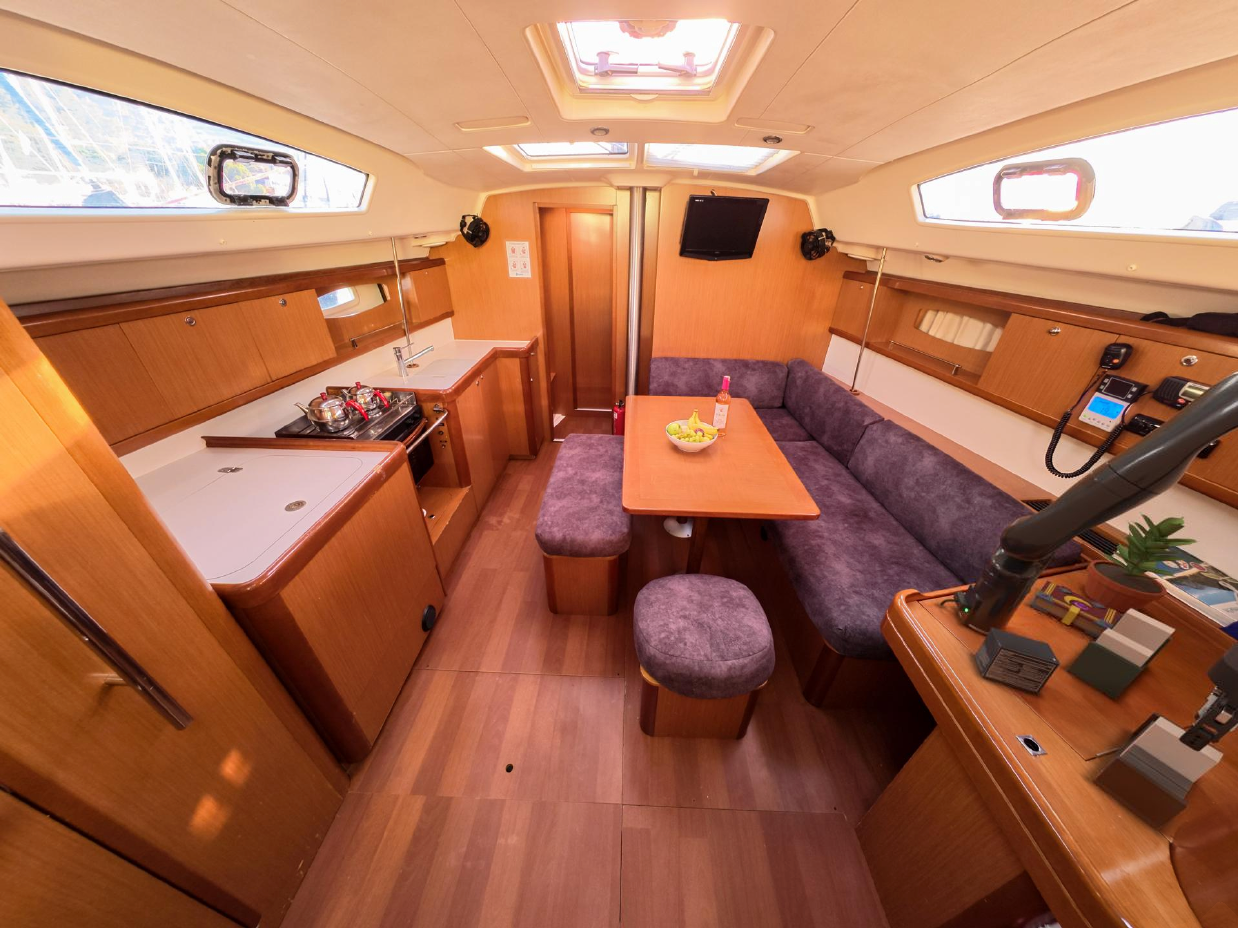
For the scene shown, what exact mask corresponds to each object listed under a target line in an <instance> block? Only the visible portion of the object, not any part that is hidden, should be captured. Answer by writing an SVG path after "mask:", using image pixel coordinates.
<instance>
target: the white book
mask: <svg viewBox="0 0 1238 928" xmlns="http://www.w3.org/2000/svg"><path fill="white" fill-rule="evenodd" d="M1185 732H1186V731H1184V730H1182V729H1181V728H1179V727H1177V726H1176V725H1174V724H1172V723H1171V722H1169V721H1167V720H1166V719H1164V718H1162V717H1160V718H1159V719H1158V720H1156V721H1155V722H1154V723H1153V724H1152V725H1151V726H1150V727H1149V728H1148V729H1147V730H1146V731H1145V732H1144V733H1143V734H1142V735H1141V736H1140V737H1139V738H1138V739H1136V740H1135V741H1134V742H1133V743H1132V744H1131V745H1130V746H1129V747H1128V748H1127V749H1126V750H1125V751H1124V752H1123V753H1122V754H1121V755H1120V756H1122V755H1123V754H1124V753H1125V752H1126V751H1127V750H1128V749H1129V748H1130V747H1131V746H1132V745H1133V744H1136V745H1137V746H1139V747H1140V748H1142V749H1143V750H1145V751H1146V752H1148V753H1149V754H1151V755H1152V756H1154V757H1155V758H1157V759H1158V760H1160V761H1161V762H1163V763H1164V764H1166V765H1167V766H1169V767H1170V768H1172V769H1174V770H1175V771H1177V772H1178V773H1180V774H1181V775H1183V776H1184V777H1186V778H1187V779H1189V780H1190V781H1192V782H1193V783H1195V782H1196V781H1197V780H1199V779H1200V778H1201V777H1202V776H1204V775H1205V774H1207V772H1209V771H1211V770H1212V769H1213V768H1214V767H1215V766H1216V765H1218V764H1219V763H1220V761H1221V760H1222V757H1223V756H1224V753H1223V752H1222V751H1221V752H1219V751H1217V750H1216V749H1214V748H1212V747H1211V746H1209V745H1207V746H1205V747H1204V748H1203V749H1202V750H1201V751H1195V750H1193V749H1191V748H1190V747H1188V746H1187V745H1185V744H1183V743H1182V742H1180V740H1179V738H1180V737H1181V736H1182V735H1183V734H1184V733H1185Z"/></svg>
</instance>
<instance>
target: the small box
mask: <svg viewBox="0 0 1238 928" xmlns="http://www.w3.org/2000/svg"><path fill="white" fill-rule="evenodd" d="M973 658H974V661H975V664H976V667H977V670H978V672H979V675H980V676H981V677H982V678H984V679H986V680H990V681H994V682H996V683H998V684H999V683H1000V684H1002V685H1006V686H1009V687H1011V688H1014V689H1019V690H1021V691H1024V692H1028V693H1030V694H1034V695H1036V696H1037V695H1039V694H1040V693H1041V691H1042V690H1043V688H1044V687H1045V686H1046V684H1047V683H1048V681H1049V680H1050V679H1051V677H1052V676H1053V674H1054V673H1055V671H1056V670H1057V669H1058V667H1060V666H1061V662H1060V661H1059V659H1058V657H1057V656H1056V654H1055V652H1054V650H1053V649H1052V648H1051V646H1050V645H1049V643H1047V642H1044V641H1041V640H1037V639H1034V638H1031V637H1027V636H1023V635H1019V634H1015V633H1012V632H1010V631H1009V632H1008V631H1005V630H1004V631H1002V630H998V629H995V628H991V630H990V632H989V633H988V635H985V638H984V640H983V641H982V643H981V645H980V646H979V648H978V650H977V651H976V653H975V655H974V656H973Z"/></svg>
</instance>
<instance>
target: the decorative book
mask: <svg viewBox="0 0 1238 928" xmlns="http://www.w3.org/2000/svg"><path fill="white" fill-rule="evenodd" d="M1029 606H1030V607H1031V608H1034V609H1037V610H1038V611H1040V612H1042V613H1044V614H1047V615H1050V616H1052V617H1054V618H1056V619H1058V620H1060V622H1061V623H1063V624H1064V625H1067V626H1073V627H1074V628H1077V629H1078V630H1081V631H1083V632H1084V633H1085V634H1087V635H1090V636H1091V637H1093V638H1095V639H1096V640H1097V639H1098V638H1099V637H1100V635H1101V634H1102V633H1103V632H1104V631H1105V630H1106V629H1108V628H1109V629H1110V628H1111V627H1112V626H1113V625H1114V623H1115V622H1116V621H1117V620H1118V619H1119V617H1120V616H1121V615H1122V614H1121V613H1122V612H1119V611H1116V610H1113V609H1111V608H1108V607H1106V606H1105V604H1103V603H1101V602H1098V601H1096V600H1093V599H1091V598H1088V597H1086V596H1083V595H1081V594H1079V593H1077V592H1074V591H1073V589H1071V588H1068V587H1066V586H1064V585H1059V584H1056V583H1054V582H1052V581H1049V580H1046V582H1045V583H1044V584H1043V586H1042V587H1041V589H1039V590H1038V591H1037V593H1036V594H1035V596H1034V598H1033V599H1032V600H1031V602H1030V603H1029Z"/></svg>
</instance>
